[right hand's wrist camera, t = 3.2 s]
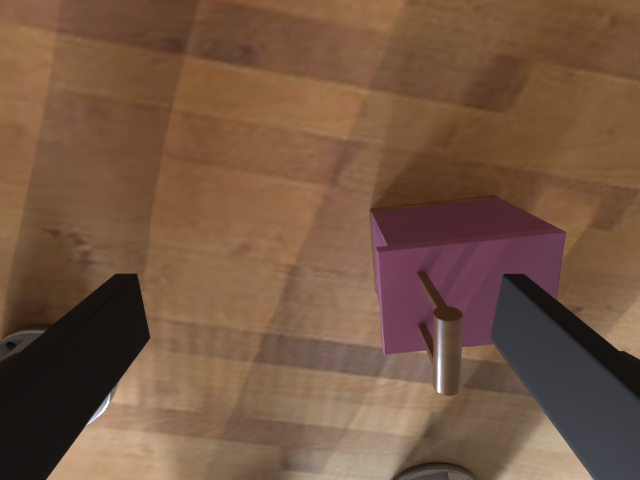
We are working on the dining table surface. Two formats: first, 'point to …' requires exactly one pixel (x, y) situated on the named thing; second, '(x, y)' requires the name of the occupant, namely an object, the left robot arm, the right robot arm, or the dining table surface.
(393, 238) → the chest
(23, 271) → the dining table surface
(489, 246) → the lid
